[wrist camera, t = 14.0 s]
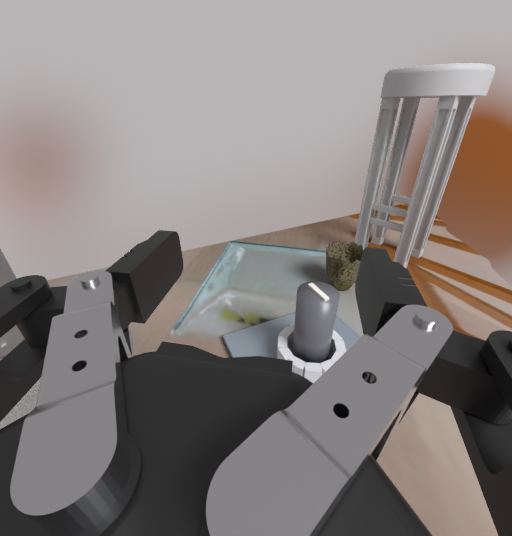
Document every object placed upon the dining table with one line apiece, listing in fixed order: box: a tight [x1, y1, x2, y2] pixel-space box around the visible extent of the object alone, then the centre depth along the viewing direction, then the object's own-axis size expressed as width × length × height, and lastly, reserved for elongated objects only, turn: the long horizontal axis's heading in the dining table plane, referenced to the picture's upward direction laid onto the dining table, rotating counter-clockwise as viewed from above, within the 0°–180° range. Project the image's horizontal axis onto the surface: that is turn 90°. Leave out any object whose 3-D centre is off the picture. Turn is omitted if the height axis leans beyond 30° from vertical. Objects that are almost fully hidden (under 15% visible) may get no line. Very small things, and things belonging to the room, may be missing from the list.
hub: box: [223, 313, 360, 383], centre depth 36 cm, size 18×18×4 cm
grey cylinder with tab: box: [292, 281, 339, 363], centre depth 33 cm, size 5×5×11 cm
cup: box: [326, 241, 363, 291], centre depth 50 cm, size 8×7×8 cm
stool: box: [354, 63, 495, 268], centre depth 54 cm, size 16×16×35 cm
